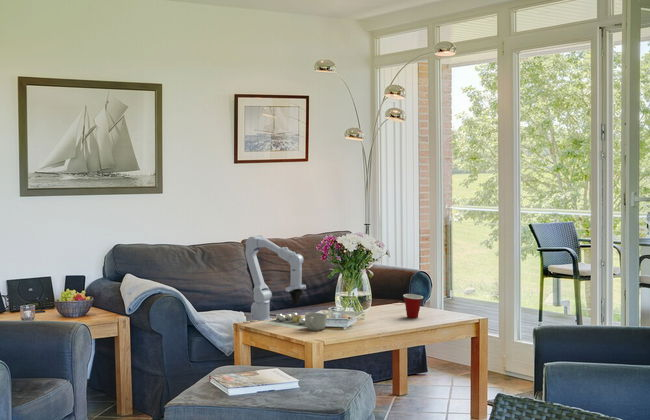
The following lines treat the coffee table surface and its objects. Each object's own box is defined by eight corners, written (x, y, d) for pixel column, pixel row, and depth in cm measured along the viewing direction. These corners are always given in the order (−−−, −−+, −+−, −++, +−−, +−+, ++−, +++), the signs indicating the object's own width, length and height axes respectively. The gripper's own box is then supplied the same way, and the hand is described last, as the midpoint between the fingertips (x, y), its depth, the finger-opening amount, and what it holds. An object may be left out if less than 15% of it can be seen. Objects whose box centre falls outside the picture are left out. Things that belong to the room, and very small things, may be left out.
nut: (290, 322, 440) (290, 316, 440) (293, 320, 444) (293, 315, 444) (299, 323, 438) (299, 317, 438) (302, 321, 442) (302, 315, 442)
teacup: (311, 327, 430) (311, 311, 430) (330, 329, 425) (330, 313, 425) (297, 331, 418) (297, 315, 418) (317, 334, 413) (317, 317, 413)
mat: (261, 323, 437) (261, 322, 437) (286, 318, 453) (286, 317, 453) (298, 329, 423) (298, 328, 423) (322, 323, 439) (322, 323, 439)
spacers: (272, 320, 444) (272, 314, 444) (287, 317, 454) (287, 311, 454) (308, 326, 430) (308, 320, 429) (323, 322, 440) (324, 316, 440)
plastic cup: (416, 320, 453) (416, 297, 453) (398, 317, 460) (399, 295, 459) (426, 317, 462) (427, 295, 461) (409, 314, 469) (409, 293, 468)
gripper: (293, 279, 431) (292, 306, 432) (310, 277, 442) (310, 303, 443) (282, 278, 435) (282, 305, 436) (300, 275, 447) (299, 301, 447)
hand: (295, 303), depth 440 cm, fingers closed
